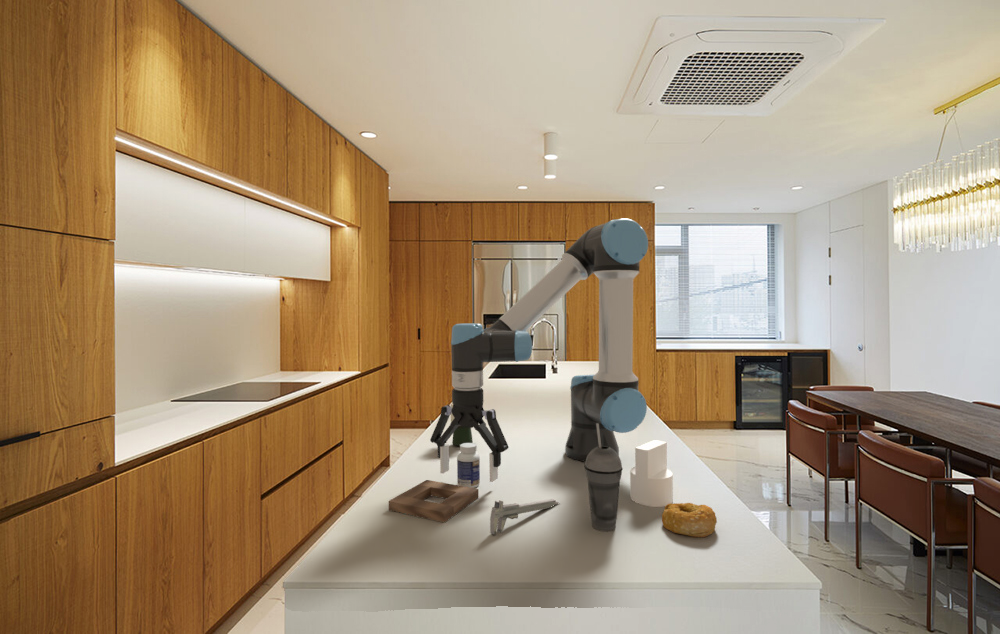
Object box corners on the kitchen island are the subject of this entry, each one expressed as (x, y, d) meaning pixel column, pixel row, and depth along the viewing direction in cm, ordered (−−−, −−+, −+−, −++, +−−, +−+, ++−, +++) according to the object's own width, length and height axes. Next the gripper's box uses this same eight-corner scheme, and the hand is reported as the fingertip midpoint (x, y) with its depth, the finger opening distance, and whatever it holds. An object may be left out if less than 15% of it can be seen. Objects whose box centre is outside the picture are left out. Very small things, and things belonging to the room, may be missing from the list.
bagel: (705, 516, 101) (705, 493, 101) (725, 542, 90) (725, 516, 90) (655, 515, 102) (655, 492, 102) (668, 540, 91) (668, 514, 91)
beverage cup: (615, 538, 92) (615, 430, 92) (578, 528, 96) (578, 425, 95) (627, 523, 98) (627, 422, 98) (592, 515, 102) (592, 418, 102)
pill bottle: (476, 490, 117) (476, 448, 116) (454, 488, 118) (454, 447, 117) (482, 481, 122) (481, 442, 122) (461, 480, 123) (460, 441, 123)
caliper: (494, 537, 93) (493, 504, 93) (490, 535, 94) (489, 502, 94) (559, 504, 108) (559, 476, 108) (555, 503, 109) (555, 475, 109)
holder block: (478, 497, 112) (478, 489, 112) (444, 522, 99) (444, 512, 99) (426, 488, 118) (426, 479, 118) (388, 510, 105) (388, 500, 105)
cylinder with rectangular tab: (643, 488, 117) (643, 437, 117) (680, 498, 110) (680, 444, 110) (622, 498, 111) (622, 445, 110) (660, 510, 104) (660, 453, 104)
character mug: (482, 446, 153) (482, 403, 152) (465, 450, 148) (464, 407, 147) (460, 439, 161) (459, 399, 160) (442, 443, 156) (442, 402, 155)
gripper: (415, 386, 121) (416, 473, 122) (507, 394, 110) (508, 489, 111) (433, 382, 128) (434, 464, 129) (521, 388, 117) (522, 478, 118)
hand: (468, 475), depth 120 cm, fingers open, 13 cm apart
